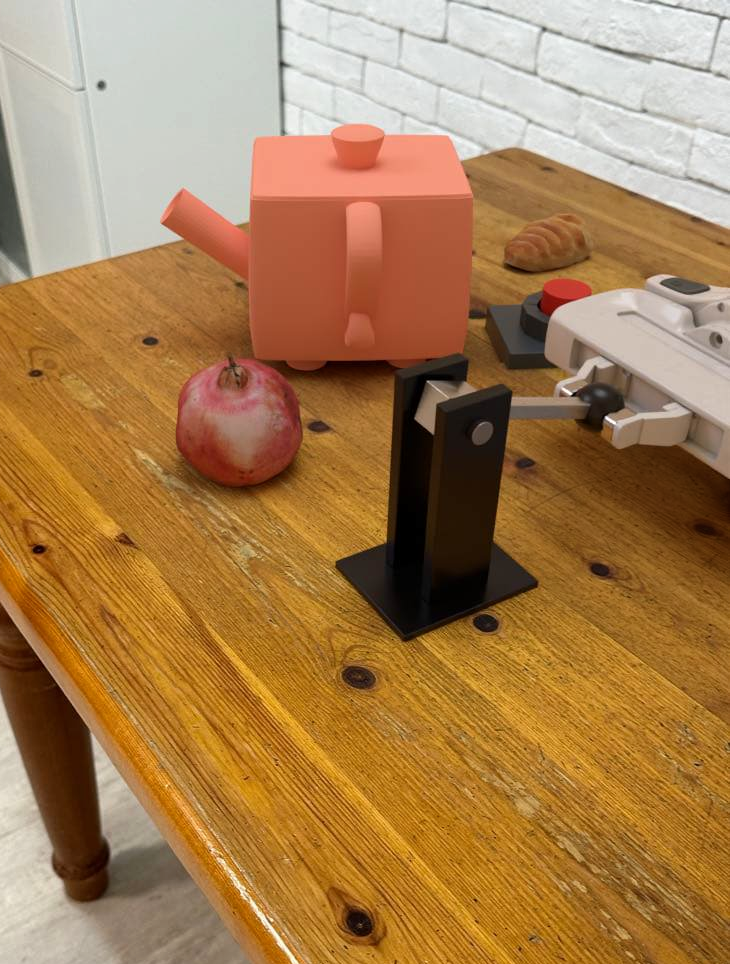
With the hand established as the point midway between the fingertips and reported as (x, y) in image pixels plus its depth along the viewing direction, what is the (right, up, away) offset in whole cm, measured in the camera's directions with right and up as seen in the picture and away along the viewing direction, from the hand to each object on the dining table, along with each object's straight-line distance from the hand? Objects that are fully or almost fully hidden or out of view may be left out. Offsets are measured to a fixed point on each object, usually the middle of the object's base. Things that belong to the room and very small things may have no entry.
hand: (584, 415), depth 65 cm
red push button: (+4, +12, +24) cm, 27 cm away
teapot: (-17, +10, +28) cm, 34 cm away
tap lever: (-4, -1, -2) cm, 5 cm away
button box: (+4, +9, +26) cm, 28 cm away
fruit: (-22, -3, +12) cm, 25 cm away
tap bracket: (-9, -11, +2) cm, 14 cm away
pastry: (+6, +21, +41) cm, 47 cm away
